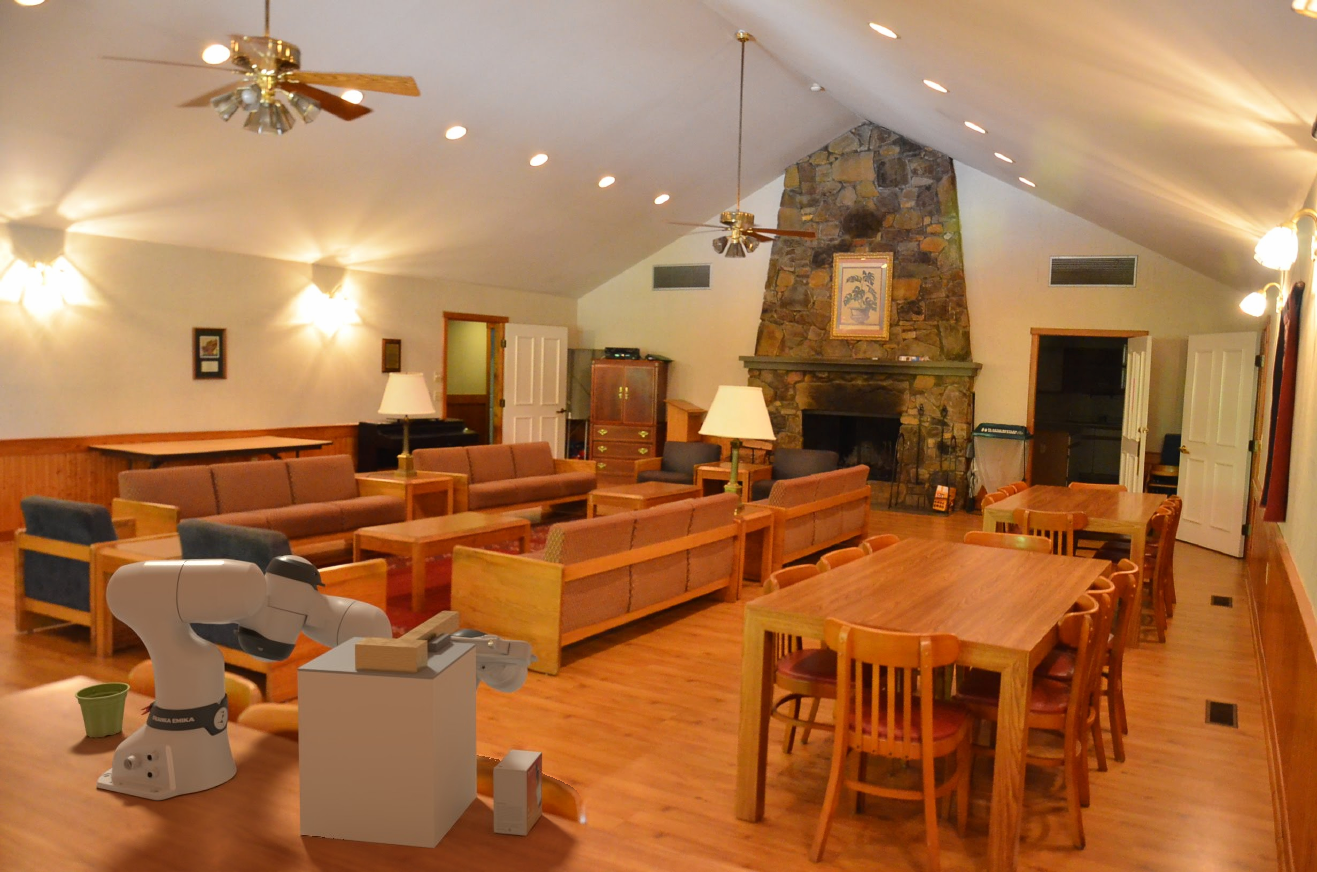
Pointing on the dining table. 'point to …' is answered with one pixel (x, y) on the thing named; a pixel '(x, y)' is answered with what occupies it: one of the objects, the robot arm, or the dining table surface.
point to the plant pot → (103, 708)
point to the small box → (517, 792)
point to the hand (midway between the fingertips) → (468, 640)
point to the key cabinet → (387, 746)
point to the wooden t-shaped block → (404, 646)
